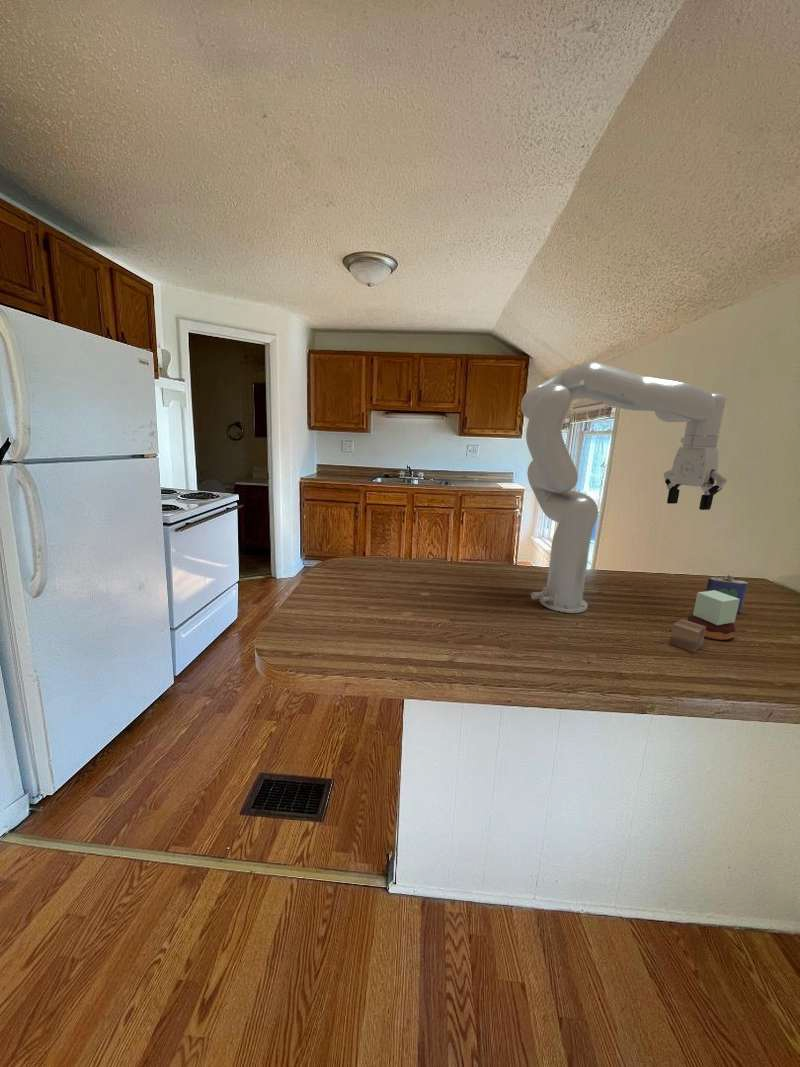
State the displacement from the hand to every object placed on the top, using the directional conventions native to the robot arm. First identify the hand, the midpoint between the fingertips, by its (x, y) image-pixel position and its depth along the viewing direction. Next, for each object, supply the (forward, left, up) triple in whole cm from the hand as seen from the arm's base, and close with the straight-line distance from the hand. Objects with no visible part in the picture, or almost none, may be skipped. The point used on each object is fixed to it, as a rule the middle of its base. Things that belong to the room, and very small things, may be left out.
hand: (687, 506), depth 117 cm
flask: (+10, -8, -29) cm, 31 cm away
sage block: (-7, -17, -25) cm, 31 cm away
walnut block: (-19, -21, -28) cm, 40 cm away
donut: (-7, -17, -29) cm, 34 cm away
